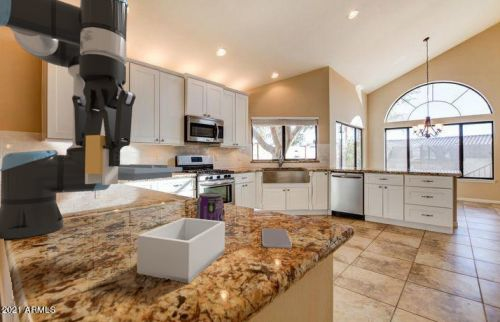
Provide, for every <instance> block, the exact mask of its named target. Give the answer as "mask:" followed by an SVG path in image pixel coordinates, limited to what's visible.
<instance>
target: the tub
mask: <svg viewBox="0 0 500 322" xmlns="http://www.w3.org/2000/svg"><path fill="white" fill-rule="evenodd" d="M225 239H226V221H224V220H223V221H214V220H204V219H197V218H193V217H182V218H180V219H177V220H174V221H172V222H170V223H167V224H164V225H161V226H159V227H157V228H153V229H151V230H147V231H146V232H143V233H141V234H138V235H137V256H136V258H137V259H136V261H137V262H136V273H137V274H140V275H145V276H150V277H153V278H160V279H163V278H165V280H168V279H170V280H169V281H173V280H175V282H178V281H179V282H178V283H183V282H184V283H183V284H188V283H189V284H191V282H193V280H194V279H195V278H197V276H199V275H200V274H201V273H203V271H204V270H206V269H207V268H208V267H209V266H210V265H211V264H212V263H214V262H215V261H216V260H217V259H218V258H220V257H221V256H222V255H223V253H225V251H226V249H225V247H226V243H225V242H226V240H225Z"/></svg>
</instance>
